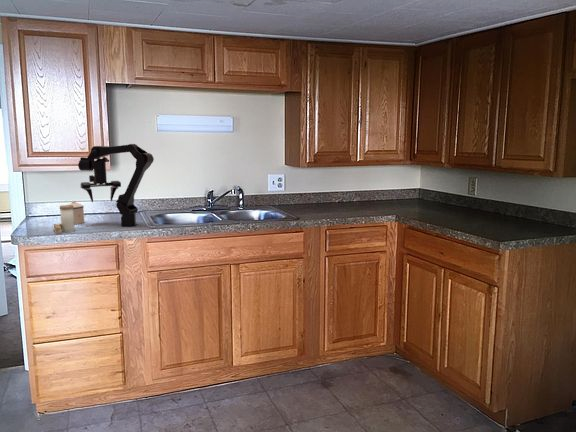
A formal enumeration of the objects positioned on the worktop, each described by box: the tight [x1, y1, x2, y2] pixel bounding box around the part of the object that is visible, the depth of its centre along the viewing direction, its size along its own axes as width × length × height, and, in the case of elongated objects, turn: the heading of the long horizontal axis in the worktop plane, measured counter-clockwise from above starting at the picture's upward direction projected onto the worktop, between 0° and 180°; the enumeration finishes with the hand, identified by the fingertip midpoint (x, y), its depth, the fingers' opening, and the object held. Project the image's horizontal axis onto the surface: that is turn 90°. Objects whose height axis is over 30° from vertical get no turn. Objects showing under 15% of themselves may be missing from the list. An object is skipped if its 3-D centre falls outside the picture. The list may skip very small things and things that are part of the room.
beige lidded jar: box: [68, 200, 85, 225], centre depth 262 cm, size 12×9×12 cm
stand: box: [53, 223, 75, 235], centre depth 242 cm, size 9×12×3 cm
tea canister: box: [59, 204, 75, 233], centre depth 242 cm, size 6×6×12 cm
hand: (101, 201), depth 258 cm, fingers open, 9 cm apart
